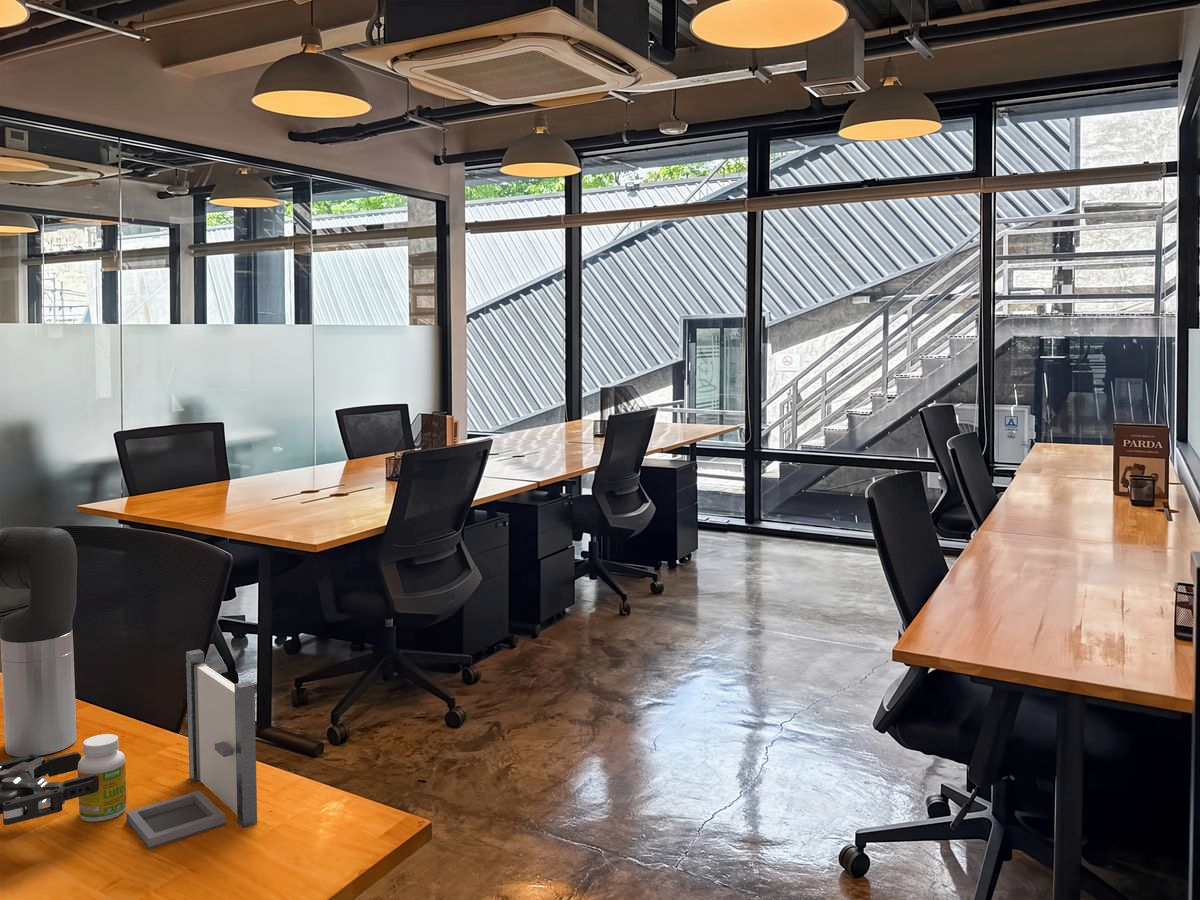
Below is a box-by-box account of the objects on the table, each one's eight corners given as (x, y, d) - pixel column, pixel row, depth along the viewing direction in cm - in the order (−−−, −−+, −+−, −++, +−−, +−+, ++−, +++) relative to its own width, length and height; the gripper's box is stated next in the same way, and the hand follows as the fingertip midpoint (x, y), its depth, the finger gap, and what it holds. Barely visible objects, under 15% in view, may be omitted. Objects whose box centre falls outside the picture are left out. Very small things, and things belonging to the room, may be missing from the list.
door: (185, 780, 127) (182, 667, 126) (207, 774, 129) (204, 662, 128) (226, 820, 116) (224, 696, 115) (249, 813, 118) (247, 691, 117)
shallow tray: (126, 821, 117) (126, 811, 117) (199, 799, 123) (199, 790, 123) (149, 849, 110) (148, 838, 110) (225, 824, 116) (225, 815, 116)
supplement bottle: (106, 825, 116) (103, 750, 115) (69, 820, 117) (66, 746, 116) (136, 805, 121) (133, 733, 120) (100, 801, 122) (97, 729, 121)
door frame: (189, 777, 130) (185, 651, 128) (202, 773, 131) (199, 649, 129) (243, 828, 116) (240, 687, 114) (257, 823, 117) (254, 684, 115)
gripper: (-60, 800, 101) (103, 759, 112) (-77, 759, 112) (73, 725, 122) (-56, 866, 102) (106, 819, 113) (-74, 819, 112) (75, 780, 123)
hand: (89, 770), depth 118 cm, fingers open, 8 cm apart
